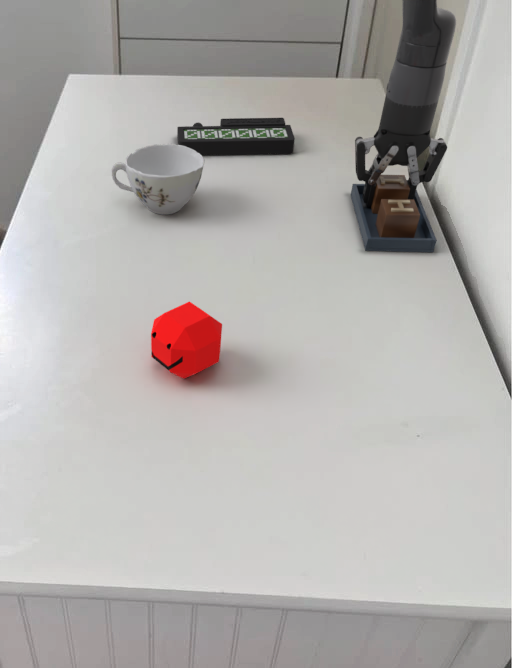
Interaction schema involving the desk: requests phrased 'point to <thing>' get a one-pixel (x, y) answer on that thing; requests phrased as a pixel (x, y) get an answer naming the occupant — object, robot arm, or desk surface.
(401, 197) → the tile
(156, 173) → the teacup
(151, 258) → the desk surface
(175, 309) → the ball
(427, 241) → the word tray
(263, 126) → the digital display
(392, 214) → the tile
